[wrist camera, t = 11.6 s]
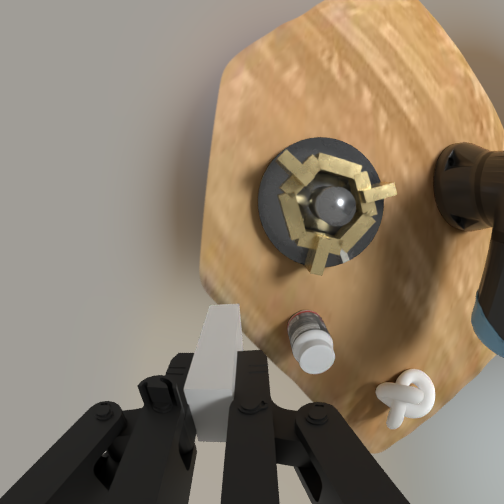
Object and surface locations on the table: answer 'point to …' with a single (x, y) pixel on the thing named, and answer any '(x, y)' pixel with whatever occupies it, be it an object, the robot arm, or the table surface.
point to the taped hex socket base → (347, 233)
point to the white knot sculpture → (407, 396)
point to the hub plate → (272, 210)
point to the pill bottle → (310, 342)
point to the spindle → (332, 205)
